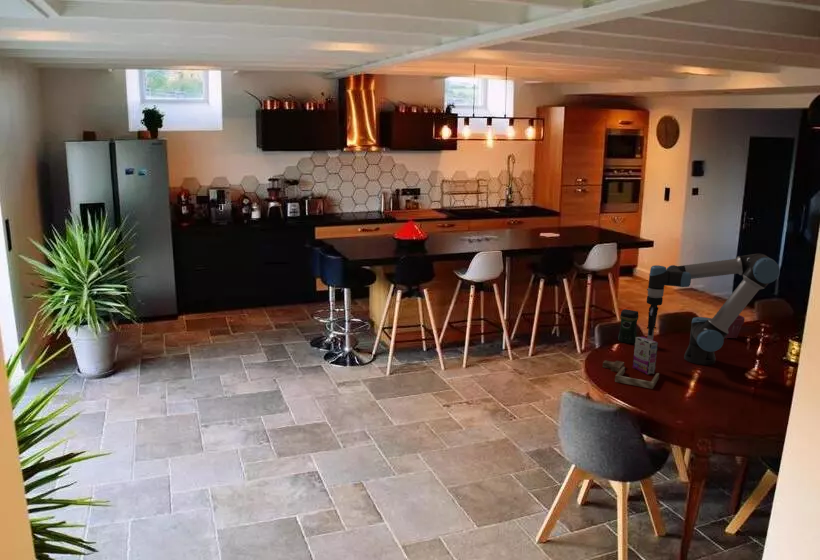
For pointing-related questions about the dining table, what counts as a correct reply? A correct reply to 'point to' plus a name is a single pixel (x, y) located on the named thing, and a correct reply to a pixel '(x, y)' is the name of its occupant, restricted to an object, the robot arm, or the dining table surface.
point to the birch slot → (635, 380)
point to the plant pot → (735, 327)
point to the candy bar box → (645, 355)
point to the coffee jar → (628, 326)
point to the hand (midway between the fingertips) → (649, 340)
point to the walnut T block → (613, 365)
